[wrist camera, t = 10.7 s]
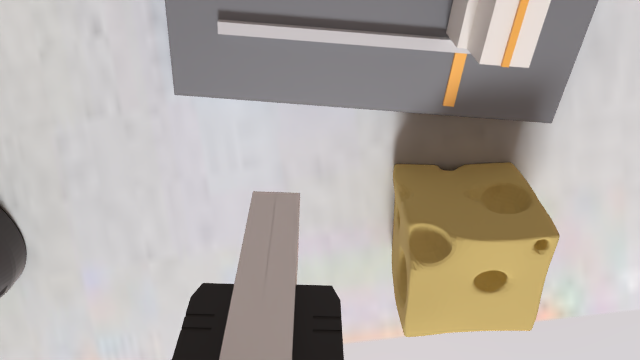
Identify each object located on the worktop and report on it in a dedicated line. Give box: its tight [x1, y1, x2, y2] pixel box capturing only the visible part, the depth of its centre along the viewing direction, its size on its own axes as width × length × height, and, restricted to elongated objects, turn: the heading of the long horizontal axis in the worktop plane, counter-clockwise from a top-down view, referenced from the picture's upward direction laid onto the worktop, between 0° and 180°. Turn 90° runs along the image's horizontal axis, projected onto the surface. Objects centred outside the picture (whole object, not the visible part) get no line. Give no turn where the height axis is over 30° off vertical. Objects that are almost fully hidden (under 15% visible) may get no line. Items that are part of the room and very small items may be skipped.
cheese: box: [392, 162, 559, 337], centre depth 38 cm, size 10×11×10 cm
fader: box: [446, 0, 551, 68], centre depth 27 cm, size 4×4×6 cm
